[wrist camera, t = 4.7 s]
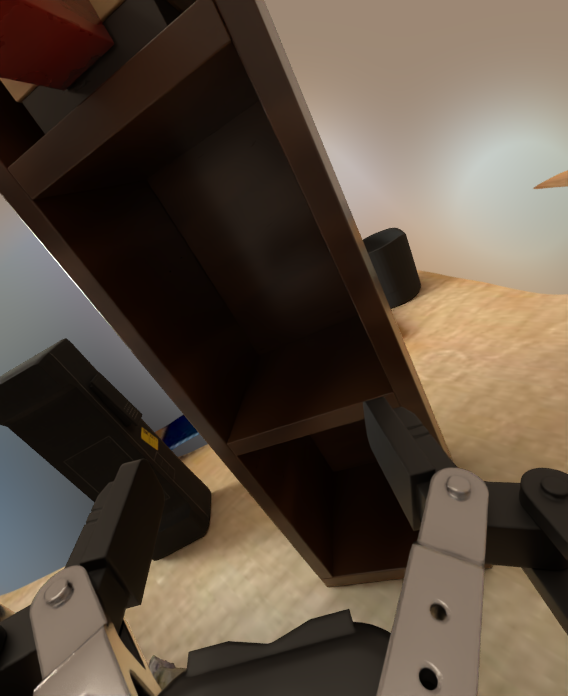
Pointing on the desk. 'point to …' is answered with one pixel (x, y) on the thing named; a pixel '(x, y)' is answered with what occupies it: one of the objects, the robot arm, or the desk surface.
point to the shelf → (232, 273)
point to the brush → (72, 47)
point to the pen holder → (393, 265)
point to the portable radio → (98, 437)
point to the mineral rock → (163, 671)
